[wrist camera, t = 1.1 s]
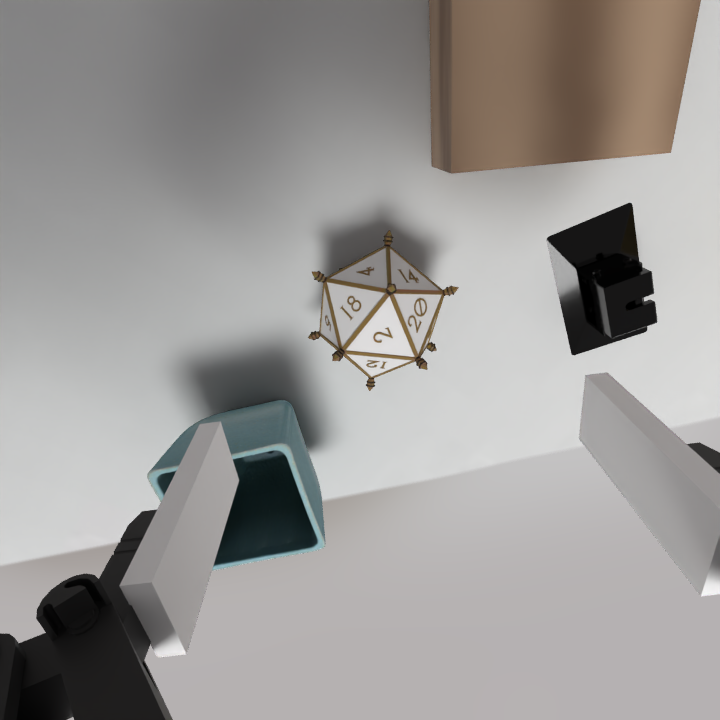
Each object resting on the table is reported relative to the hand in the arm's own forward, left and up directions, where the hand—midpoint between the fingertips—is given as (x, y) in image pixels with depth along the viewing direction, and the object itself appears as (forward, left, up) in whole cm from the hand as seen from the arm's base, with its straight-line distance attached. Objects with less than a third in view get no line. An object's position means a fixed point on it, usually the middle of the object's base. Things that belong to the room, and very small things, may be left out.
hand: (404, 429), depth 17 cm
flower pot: (-10, -10, -17) cm, 22 cm away
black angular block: (+16, -2, -17) cm, 23 cm away
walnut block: (+10, +13, -17) cm, 23 cm away
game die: (0, 0, -17) cm, 17 cm away
